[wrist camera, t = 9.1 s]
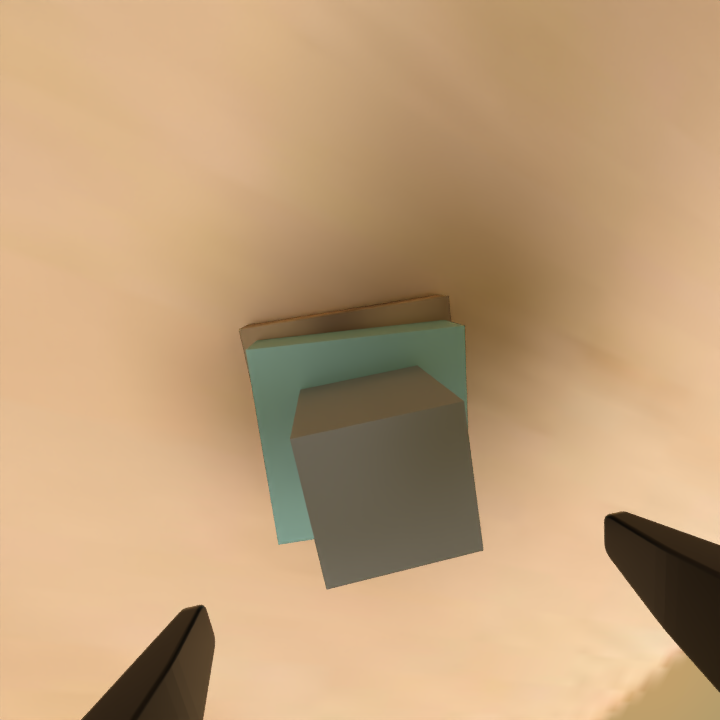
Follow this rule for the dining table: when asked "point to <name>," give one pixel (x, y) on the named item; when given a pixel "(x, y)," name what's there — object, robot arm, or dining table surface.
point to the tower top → (329, 365)
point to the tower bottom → (351, 319)
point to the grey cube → (385, 474)
